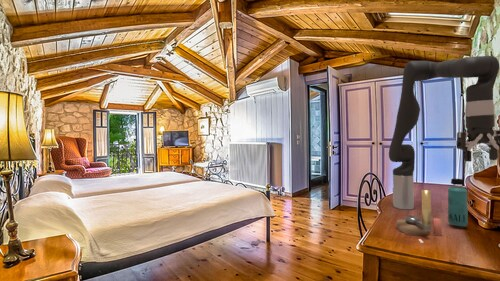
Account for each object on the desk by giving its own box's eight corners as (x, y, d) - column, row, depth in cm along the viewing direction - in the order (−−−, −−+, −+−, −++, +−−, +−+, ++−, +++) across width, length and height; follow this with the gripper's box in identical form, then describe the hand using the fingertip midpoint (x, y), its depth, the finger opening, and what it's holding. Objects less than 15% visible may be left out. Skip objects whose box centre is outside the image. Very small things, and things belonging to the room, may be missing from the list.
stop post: (432, 233, 98) (431, 218, 98) (438, 233, 98) (438, 218, 98) (436, 236, 96) (436, 220, 96) (443, 235, 96) (442, 220, 96)
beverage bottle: (458, 224, 108) (458, 177, 107) (473, 229, 101) (472, 179, 101) (443, 224, 107) (443, 177, 107) (457, 230, 101) (456, 180, 101)
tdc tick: (418, 239, 93) (418, 239, 93) (421, 239, 93) (421, 239, 93) (420, 242, 90) (420, 242, 90) (423, 243, 90) (423, 242, 90)
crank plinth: (391, 226, 107) (391, 219, 107) (417, 225, 108) (417, 218, 108) (407, 236, 96) (407, 228, 96) (436, 235, 97) (436, 227, 97)
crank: (402, 220, 104) (402, 185, 104) (414, 220, 105) (414, 184, 104) (422, 231, 93) (421, 191, 92) (436, 230, 93) (435, 190, 92)
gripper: (490, 113, 92) (491, 158, 93) (450, 116, 92) (451, 160, 93) (511, 112, 84) (512, 160, 85) (467, 114, 85) (468, 163, 86)
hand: (480, 160), depth 89 cm, fingers open, 8 cm apart
